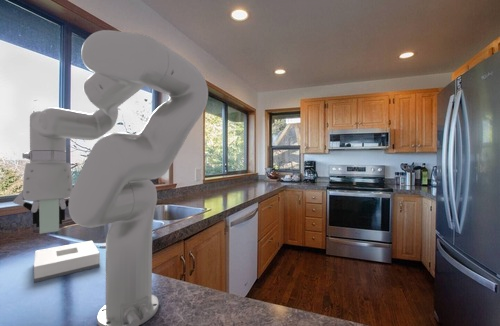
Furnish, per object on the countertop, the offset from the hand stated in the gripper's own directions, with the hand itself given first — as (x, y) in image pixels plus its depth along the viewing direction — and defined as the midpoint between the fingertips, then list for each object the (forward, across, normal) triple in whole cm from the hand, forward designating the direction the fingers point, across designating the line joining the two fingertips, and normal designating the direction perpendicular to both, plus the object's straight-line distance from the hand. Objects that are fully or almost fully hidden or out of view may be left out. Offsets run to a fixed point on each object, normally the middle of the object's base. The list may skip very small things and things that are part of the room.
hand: (49, 224), depth 65 cm
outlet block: (+17, +5, +15) cm, 23 cm away
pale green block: (+2, 0, 0) cm, 2 cm away
